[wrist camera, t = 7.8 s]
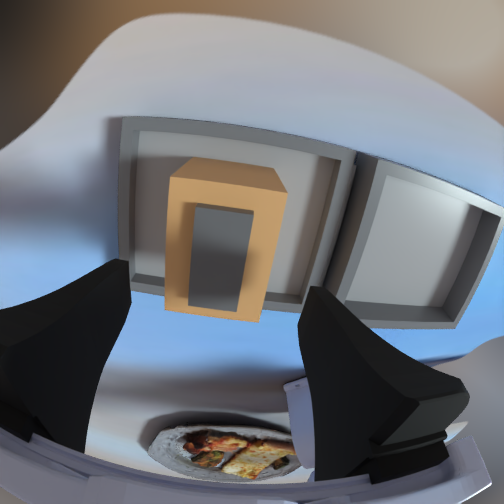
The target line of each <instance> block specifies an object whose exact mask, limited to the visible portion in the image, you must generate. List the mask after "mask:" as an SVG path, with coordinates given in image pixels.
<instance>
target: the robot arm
mask: <svg viewBox="0 0 504 504" xmlns="http://www.w3.org/2000/svg"><path fill="white" fill-rule="evenodd" d="M131 303H132V302H131V289H130V273H129V261H127V260H120V259H113V260H111V261H109V262H107V263H105V264H104V265H102V266H100V267H98V268H96V269H95V270H93V271H91V272H89V273H88V274H86V275H84V276H82V277H81V278H79V279H77V280H75V281H73V282H71V283H69V284H68V285H66V286H64V287H62V288H60V289H58V290H56V291H54V292H52V293H49V294H47V295H45V296H42V297H40V298H37V299H35V300H32V301H29V302H26V303H23V304H20V305H17V306H13V307H9V308H5V309H1V310H0V487H2V488H3V489H5V490H6V491H8V492H9V493H11V494H12V495H14V496H16V497H17V498H20V499H21V500H23V501H25V502H26V503H28V504H460V503H462V502H464V501H465V500H467V499H469V498H471V497H472V496H474V495H476V494H477V493H479V492H481V491H482V490H484V489H485V488H487V487H488V486H490V485H491V483H492V482H491V479H490V476H489V474H488V471H487V469H486V466H485V464H484V461H483V459H482V457H481V454H480V452H479V450H478V448H477V446H476V443H475V442H474V439H473V437H472V436H468V437H465V438H463V439H460V440H458V441H455V442H453V443H451V444H449V445H448V446H445V444H444V441H443V440H445V439H446V438H447V433H446V431H445V429H446V428H447V427H448V426H449V425H450V424H451V423H452V422H453V421H454V420H455V419H456V418H457V417H458V416H459V415H460V414H461V413H462V411H463V410H464V409H465V408H466V406H467V404H468V402H469V398H470V396H469V393H468V391H467V390H466V388H465V386H464V384H463V383H462V381H461V380H460V379H459V378H456V377H454V376H450V375H448V374H445V373H442V372H440V371H437V370H435V369H433V368H431V367H429V366H427V365H424V364H422V363H420V362H418V361H417V360H415V359H413V358H411V357H409V356H408V355H406V354H404V353H403V352H401V351H399V350H398V349H396V348H395V347H393V346H392V345H390V344H389V343H388V342H386V341H385V340H383V339H382V338H381V337H379V336H378V335H377V334H376V333H374V332H373V331H372V330H371V329H370V328H368V327H367V326H366V325H365V324H364V323H363V322H361V321H360V320H359V319H358V318H357V317H356V316H355V315H354V314H353V313H352V312H351V311H350V310H349V309H348V308H346V307H345V306H344V305H343V304H342V303H341V302H340V301H339V300H338V299H337V298H336V297H335V296H334V295H333V294H332V293H331V292H330V291H329V290H327V289H326V288H325V287H319V286H310V288H309V291H308V294H307V297H306V301H305V304H304V307H303V310H302V313H301V316H300V319H299V322H298V338H299V347H300V351H301V355H302V360H303V364H304V368H305V372H306V377H305V378H302V379H299V380H296V381H293V382H290V383H287V384H285V385H284V386H283V387H284V390H285V392H286V396H287V403H288V411H289V418H290V426H291V434H292V440H293V444H294V448H295V452H296V455H297V457H298V460H299V461H300V463H301V465H302V466H303V467H304V468H306V469H309V468H314V467H315V471H313V472H312V473H311V475H310V477H309V479H308V481H307V482H304V483H288V484H237V483H221V482H209V481H200V480H192V479H185V478H178V477H172V476H166V475H161V474H156V473H151V472H146V471H142V470H137V469H133V468H129V467H125V466H122V465H118V464H114V463H111V462H108V461H104V460H101V459H98V458H95V457H92V456H89V455H86V454H84V453H85V444H86V436H87V430H88V424H89V419H90V414H91V409H92V405H93V401H94V397H95V393H96V390H97V386H98V383H99V380H100V376H101V373H102V370H103V368H104V365H105V363H106V361H107V359H108V357H109V355H110V352H111V350H112V348H113V346H114V344H115V342H116V340H117V338H118V336H119V334H120V332H121V330H122V328H123V326H124V323H125V321H126V318H127V315H128V312H129V309H130V306H131Z"/></svg>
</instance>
